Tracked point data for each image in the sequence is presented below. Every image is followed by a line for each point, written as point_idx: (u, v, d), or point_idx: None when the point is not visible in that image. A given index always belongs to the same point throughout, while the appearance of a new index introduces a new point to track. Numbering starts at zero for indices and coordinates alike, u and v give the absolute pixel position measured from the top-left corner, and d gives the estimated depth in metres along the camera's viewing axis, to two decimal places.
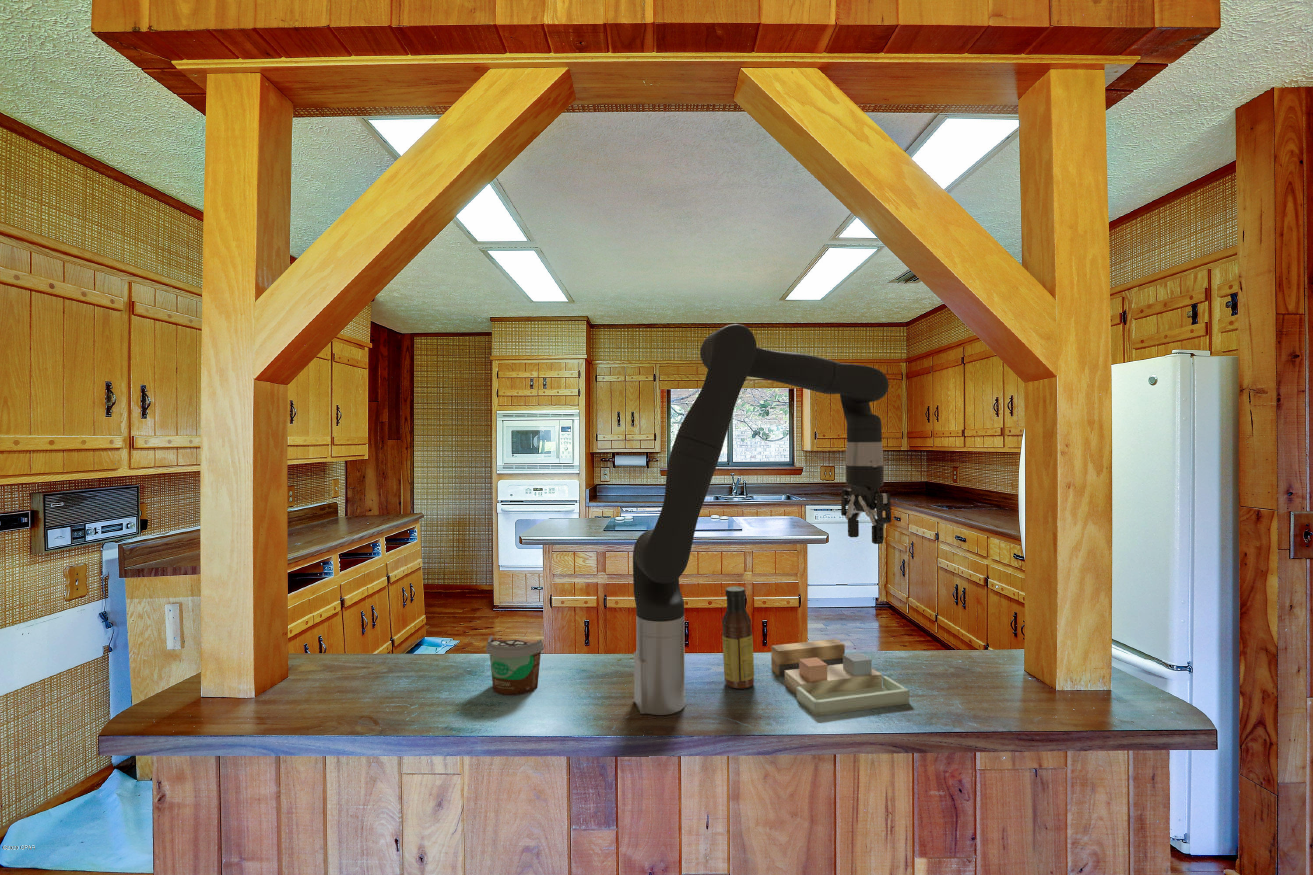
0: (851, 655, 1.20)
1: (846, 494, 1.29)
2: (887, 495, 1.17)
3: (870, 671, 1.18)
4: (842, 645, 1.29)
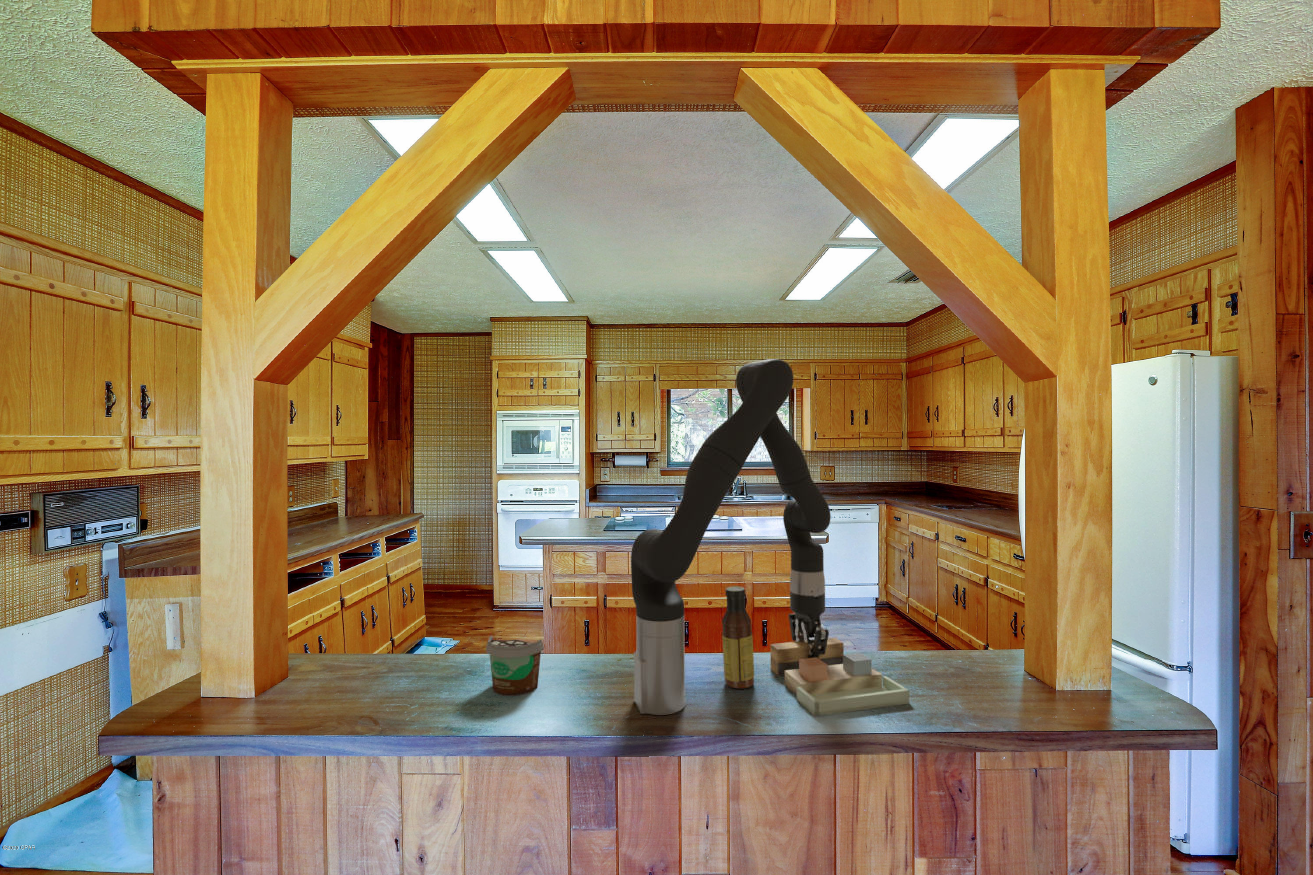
0: (851, 655, 1.20)
1: (793, 618, 1.34)
2: (826, 633, 1.23)
3: (870, 671, 1.18)
4: (841, 644, 1.29)
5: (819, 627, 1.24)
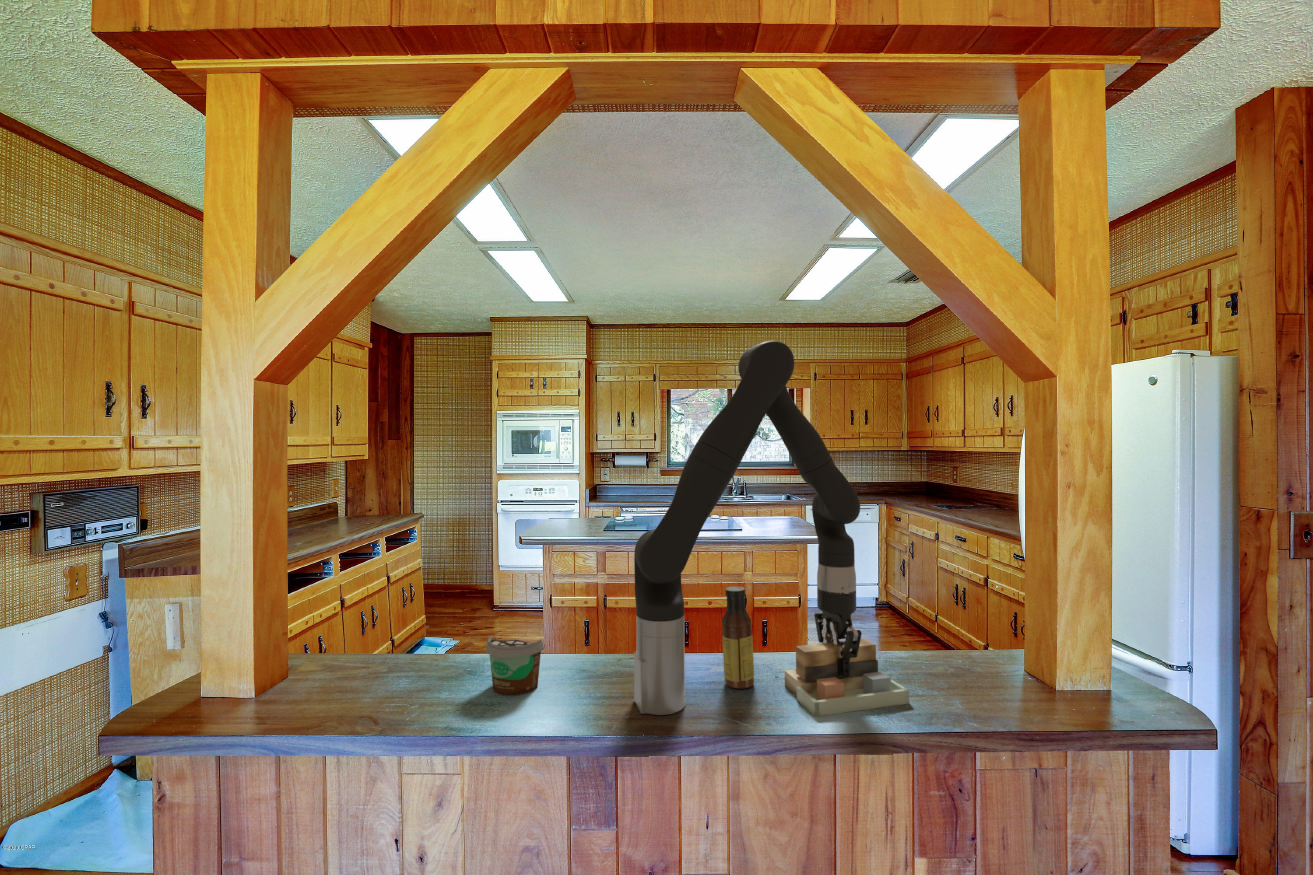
0: (878, 683, 1.12)
1: (819, 618, 1.22)
2: (858, 634, 1.11)
3: None
4: (873, 646, 1.18)
5: (851, 627, 1.12)
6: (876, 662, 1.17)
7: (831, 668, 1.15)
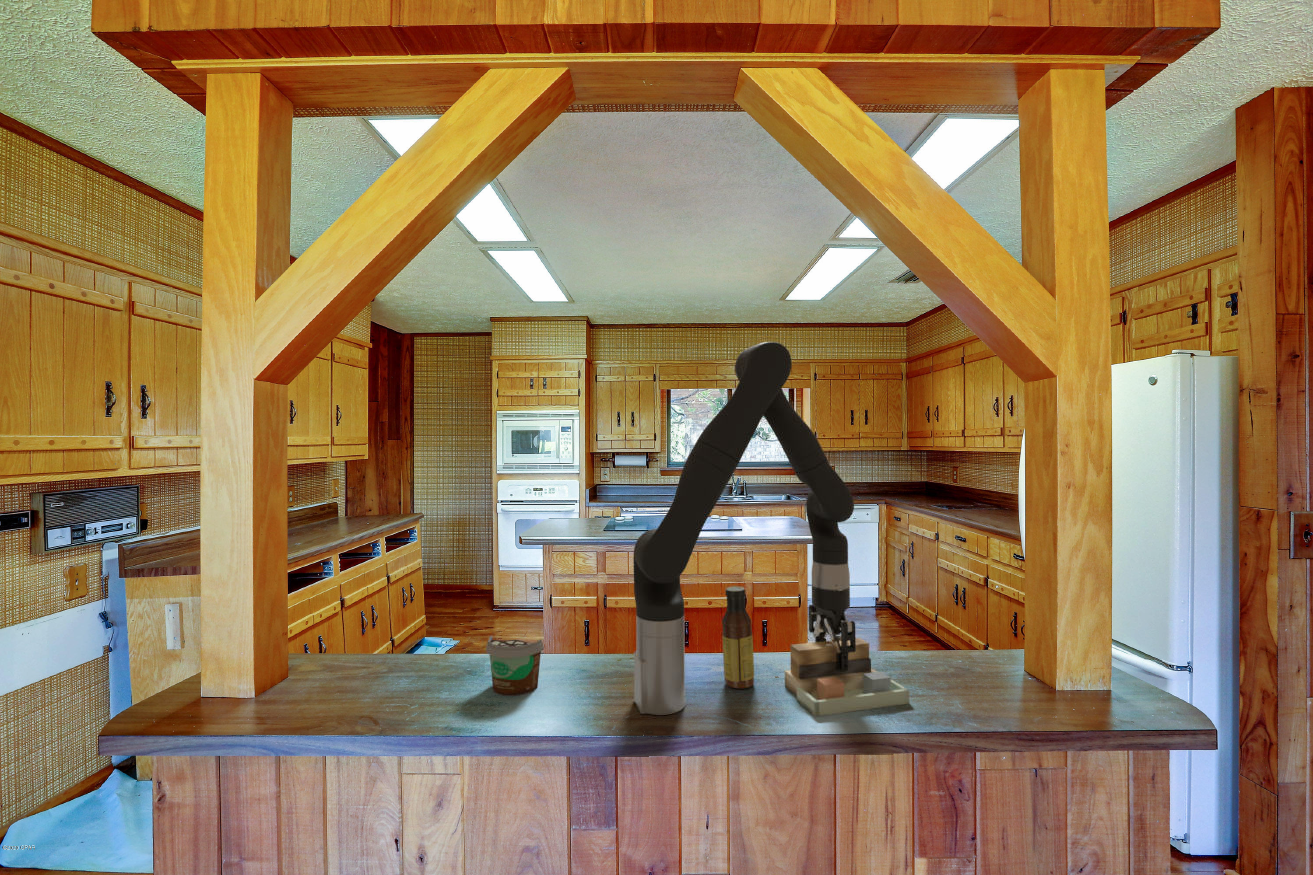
0: (878, 683, 1.12)
1: (813, 610, 1.25)
2: (852, 624, 1.13)
3: None
4: (866, 644, 1.20)
5: (844, 620, 1.15)
6: (869, 660, 1.19)
7: (825, 667, 1.17)
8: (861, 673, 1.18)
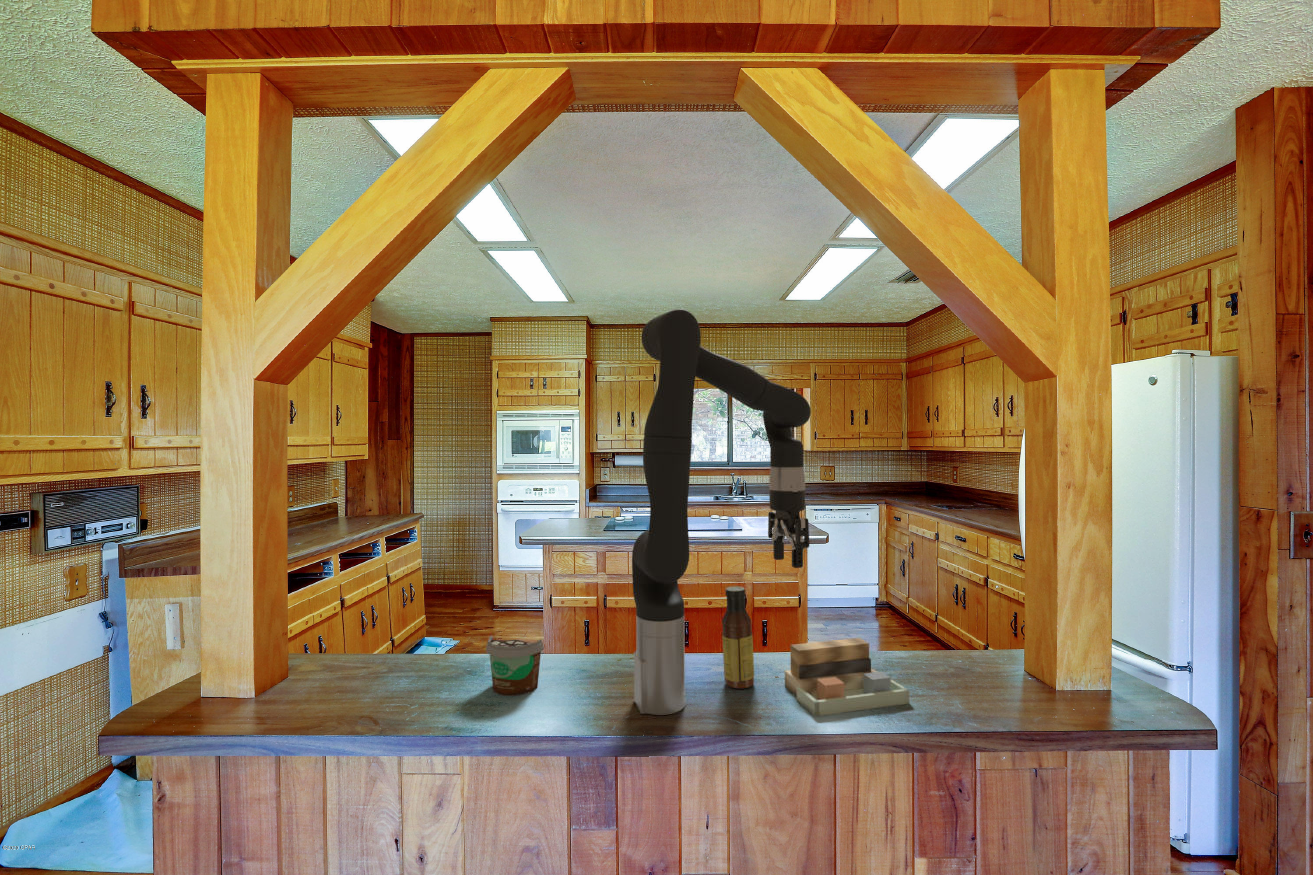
0: (878, 683, 1.12)
1: (772, 517, 1.30)
2: (805, 520, 1.19)
3: None
4: (866, 644, 1.20)
5: None
6: (869, 660, 1.19)
7: (825, 667, 1.17)
8: (861, 673, 1.18)
